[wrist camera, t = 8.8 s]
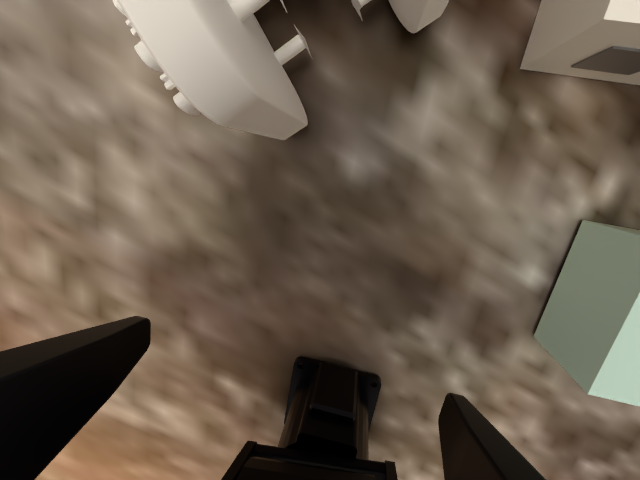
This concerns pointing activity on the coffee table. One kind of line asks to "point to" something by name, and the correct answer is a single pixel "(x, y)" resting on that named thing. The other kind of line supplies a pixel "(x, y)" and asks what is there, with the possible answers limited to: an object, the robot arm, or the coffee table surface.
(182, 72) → the cable organizer
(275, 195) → the coffee table surface
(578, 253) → the charger
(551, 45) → the bar
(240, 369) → the coffee table surface
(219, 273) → the coffee table surface
